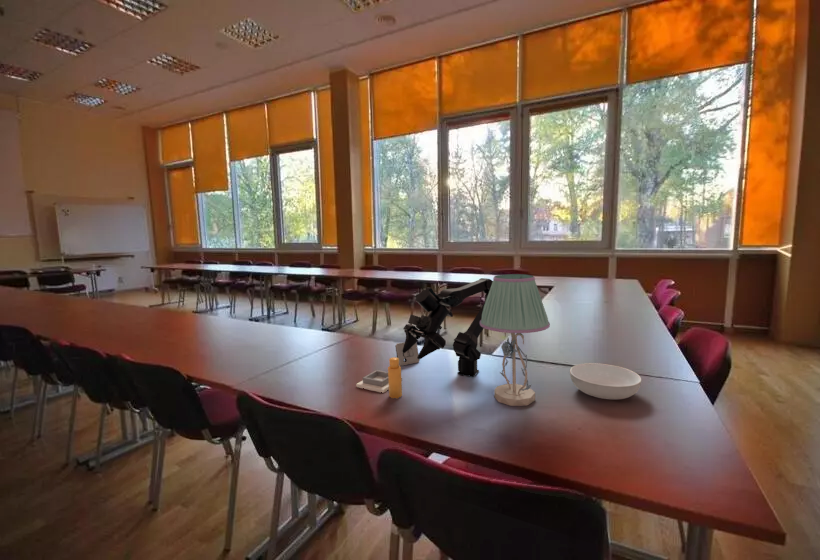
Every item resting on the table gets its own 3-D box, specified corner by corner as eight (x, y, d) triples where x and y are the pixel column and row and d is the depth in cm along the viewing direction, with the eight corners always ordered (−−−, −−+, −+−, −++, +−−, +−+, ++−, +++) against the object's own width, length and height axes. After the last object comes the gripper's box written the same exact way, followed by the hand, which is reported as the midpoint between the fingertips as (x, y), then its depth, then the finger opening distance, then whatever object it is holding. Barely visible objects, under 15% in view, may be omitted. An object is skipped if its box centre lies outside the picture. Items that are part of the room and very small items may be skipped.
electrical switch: (399, 366, 161) (398, 344, 160) (394, 364, 165) (393, 342, 165) (420, 362, 165) (418, 341, 164) (414, 360, 169) (413, 339, 169)
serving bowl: (641, 413, 114) (642, 390, 113) (565, 400, 124) (565, 379, 123) (640, 387, 132) (640, 367, 131) (573, 377, 142) (573, 359, 141)
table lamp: (468, 391, 133) (466, 275, 128) (520, 380, 141) (520, 271, 136) (506, 418, 113) (505, 283, 108) (564, 404, 121) (566, 276, 116)
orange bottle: (404, 394, 133) (403, 357, 131) (397, 399, 129) (395, 361, 128) (393, 392, 135) (392, 356, 134) (386, 397, 132) (384, 359, 130)
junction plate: (402, 380, 145) (401, 372, 145) (383, 393, 135) (383, 384, 135) (376, 375, 151) (375, 367, 151) (356, 387, 141) (356, 378, 141)
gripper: (406, 302, 143) (382, 336, 138) (438, 309, 128) (411, 348, 123) (424, 319, 148) (401, 353, 144) (456, 329, 133) (432, 367, 128)
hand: (410, 355), depth 134 cm, fingers open, 9 cm apart
